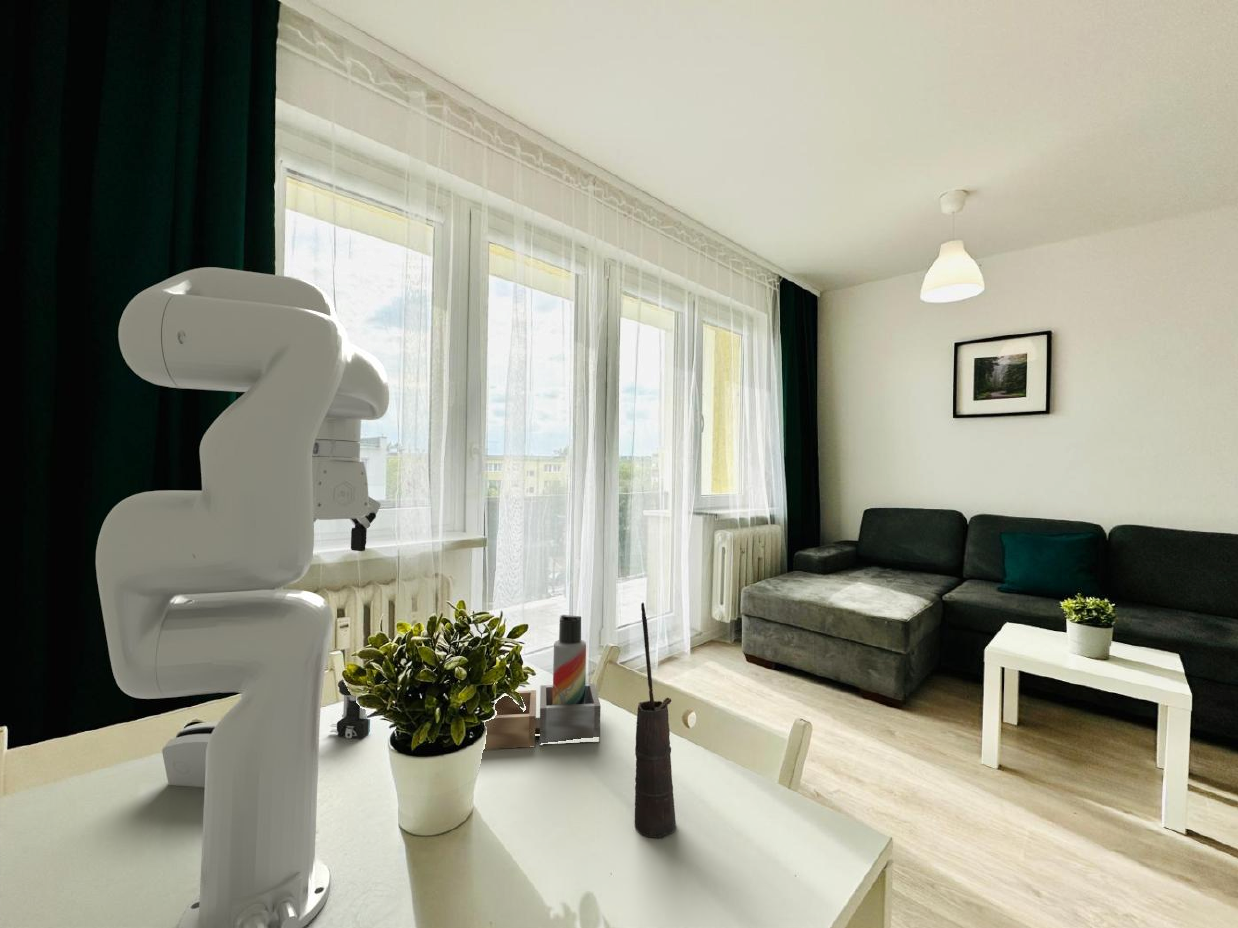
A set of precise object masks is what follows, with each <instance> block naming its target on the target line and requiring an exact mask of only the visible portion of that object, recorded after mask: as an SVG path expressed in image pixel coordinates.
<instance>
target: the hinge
mask: <svg viewBox="0 0 1238 928" xmlns="http://www.w3.org/2000/svg"><path fill="white" fill-rule="evenodd" d="M219 721H220V720H218V721H206V722H200V723H195V724H192V725H191V724H190V725H188V726H186V727H184V728H182V729H181V730H180V731H177V733H176V736H175V737H174V738H171V739H169V740H168V741H167V742H166V744H165V745H164V746H163V748H162V749H161V754H162V758H163V765H164V768H165V773H166V778H167V783H168V784H167V785H168V786H180V787H181V786H182V787H193V788H194V787H197V788H205V770H206V750H207V745H208V741H209V738H210V736H211V734H212V732H213V730H214V728H215V727H216V725H217V724H218V723H219Z"/></svg>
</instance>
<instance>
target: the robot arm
mask: <svg viewBox="0 0 1238 928" xmlns="http://www.w3.org/2000/svg"><path fill="white" fill-rule="evenodd" d="M117 335H118V336H117V337H118V344H119V348H120V352H121V354H122V357H123V359H124V360H125V363H126V364H127V366H128V367H129V368H130V369H131V370H132V371H133V372H134V374H136V375H137V376H139V377H140V378H141V379H142V380H145V381H147V382H149V383H151V384H153V385H156V386H162V387H168V388H174V389H175V388H176V389H191V390H205V391H221V392H222V391H223V392H238V393H243V394H242V395H241V396H239V397H238V398H237V399H236V400H234V401H233V402H232V403H231V404H230V405H228V407H227V408H226V409H225V410H223V411H222V412H221V414H219V416H218V417H217V418H216V419H215V420H214V421H213V422H212V424H211V425H210V426H209V428H208V429H207V430H206V432H204V434H203V436H202V439H201V441H200V445H199V461H200V473H201V475H200V476H201V490H184V489H183V490H181V489H180V490H175V489H174V490H171V489H170V490H166V489H165V490H153V491H143V492H140V493H135V494H133V495H131V496H129V497H126V498H124V499H122V500H121V501H120V502H118V503H117V504H116V505H115V506H114V507H113V508H112V509H111V510H110V511H109V513H107V516H106V517H105V519H104V521H103V523H102V525H101V528H100V532H99V535H98V539H97V544H96V549H95V570H96V571H95V572H96V580H97V581H96V582H97V585H98V586H97V587H98V593H99V599H100V606H101V612H102V618H103V623H104V629H105V636H106V641H107V648H108V655H109V661H110V665H111V669H112V673H113V674H112V675H113V677H114V679H115V682H116V684H117V686H118V688H120V690H121V691H122V692H123V693H124V694H126V695H128V696H130V697H132V698H135V699H143V700H144V699H146V700H150V699H151V700H152V699H154V700H155V699H166V698H167V699H168V698H178V697H189V696H196V695H197V696H198V695H207V694H217V693H221V694H225V693H227V694H228V693H238V694H240V695H241V697H240V699H239V700H238V701H237V702H236V703H235V704H234V705H233V706H232V707H231V708H230V709H229V710H228V711H227V712H226V713H225V714H224V715H223V717H222V718H221V719H220V720H218V721H219V723H218V724H217V725H216V727H215V728H214V730H213V732H212V734H211V736H210V738H209V741H208V745H207V750H206V770H205V787H204V793H203V795H204V797H203V816H202V817H203V818H202V839H201V862H200V863H201V864H200V867H201V868H200V885H199V887H200V888H199V895H198V896H196V897H195V898H194V899H193V901H192V902H191V903H190V904H189V905H188V906H187V907H186V909H185V910H184V912H183V914H182V915H181V916H180V917H181V918H180V919H179V922H178V924H177V925H178V926H177V928H305V927H306V925H308V924H309V923H310V922H311V921H312V919H314V918H315V917H316V916H317V915H318V913H319V912H320V911H321V909H322V908H323V907H324V906H325V903H326V902H327V900H328V898H329V894H330V890H331V879H332V877H331V876H332V875H331V872H330V871H331V870H330V868H329V866H327V864H326V863H325V862H324V861H323V860H321V859H319V858H318V857H316V834H317V832H316V831H317V830H316V829H317V812H318V811H317V807H318V802H317V801H318V780H319V778H318V777H319V751H320V723H321V722H320V721H321V706H322V694H323V687H324V681H325V680H324V679H325V672H326V668H327V663H328V656H329V652H330V649H331V648H330V647H331V642H332V637H333V636H332V635H333V629H334V615H333V610H332V608H331V605H330V604H329V602H328V601H327V600H326V599H325V598H324V597H323V596H320V595H319V594H318V593H315V592H311V591H308V590H303V589H302V590H301V589H294V588H293V589H292V588H291V589H290V588H289V589H288V588H284V587H288V586H290V585H293V584H294V583H297V582H298V581H300V580H301V579H302V578H304V577H305V576H306V574H307V572H308V571H309V569H310V567H311V564H312V560H313V555H314V548H315V547H314V545H315V543H314V542H315V522H316V521H317V520H319V521H320V520H323V521H327V520H350V522H351V523H352V524H353V525H354V527H351V530H350V531H351V533H350V536H351V537H350V550H351V551H355V552H365V551H366V545H367V535H368V534H367V530H368V529H369V528H370V527H371V524H372V523H373V521H374V520H375V519H376V518H377V514H378V512H379V510H380V508H381V503H380V502H379V501H377V500H375V499H374V498H372V497H370V496H369V484H368V475H367V469H366V465H365V462H364V461H360V457H361V456H360V455H361V435H362V434H361V432H362V431H361V429H362V428H361V427H362V420H363V421H365V420H366V421H374V420H379V419H380V418H382V417H384V415H386V413H387V410H388V407H389V403H390V402H389V401H390V391H389V383H388V377H387V374H386V371H385V368H384V366H383V364H382V363H381V361H379V360H378V359H377V358H376V357H375V356H373V355H372V354H370V353H369V352H367V351H365V350H363V349H361V348H360V347H358V346H356V345H354V344H353V343H350V342H349V341H348V340H349V339H348V335H347V332H346V330H345V327H344V326H343V325H342V324H341V323H340V322H339V321H338V316H337V314H336V311H335V307H334V305H333V303H332V300H331V299H330V297H329V296H328V295H327V294H326V293H325V292H324V290H322V289H320V288H319V287H318V286H316V285H315V284H313V283H311V282H309V281H307V280H304V279H301V278H296V277H291V276H285V275H276V274H270V273H261V272H255V271H254V272H253V271H246V270H241V269H239V270H238V269H234V268H233V269H231V268H223V267H214V266H213V267H211V266H209V267H208V266H207V267H199V268H193V269H189V270H186V271H183V272H180V273H178V274H176V275H173V276H171V277H169V278H166V279H165V280H163V281H161V282H159V283H156V284H154V285H152V286H150V287H148V288H146V289H144V290H142V291H141V292H139V293H137V295H135V296H134V297H133V298H132V299H131V300H130V301H129V302H128V304H127V305H126V307H125V309H124V310H123V313H122V315H121V318H120V320H119V325H118V334H117ZM282 587H283V589H282Z"/></svg>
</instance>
